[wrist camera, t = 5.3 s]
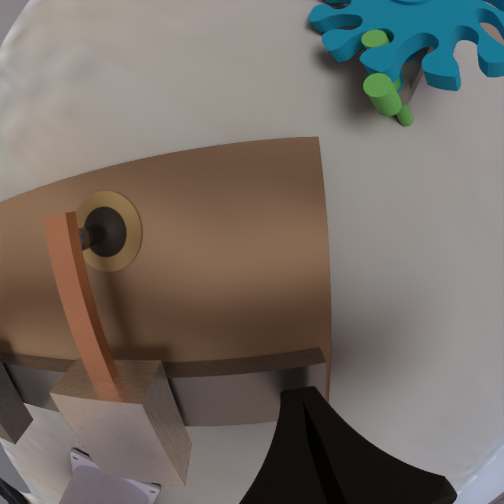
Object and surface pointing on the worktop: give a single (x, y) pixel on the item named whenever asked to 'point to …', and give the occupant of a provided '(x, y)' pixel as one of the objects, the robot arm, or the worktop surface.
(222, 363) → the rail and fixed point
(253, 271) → the hole board
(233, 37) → the worktop surface
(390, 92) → the gear
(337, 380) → the worktop surface
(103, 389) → the slider
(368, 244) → the worktop surface
